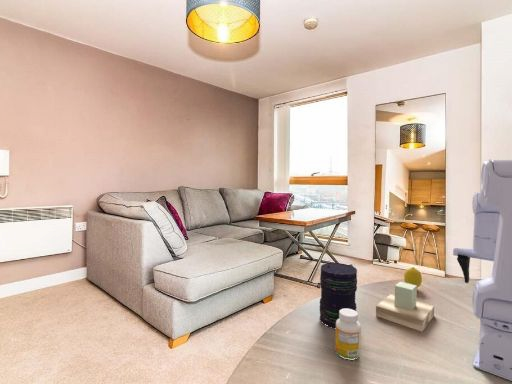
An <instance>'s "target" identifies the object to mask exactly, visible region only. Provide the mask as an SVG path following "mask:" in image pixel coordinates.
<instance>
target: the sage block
mask: <svg viewBox="0 0 512 384" xmlns="http://www.w3.org/2000/svg"><path fill="white" fill-rule="evenodd" d="M417 288H418V287H417V285H413V284H408V283H405V281H404V282H403V281H399V282H398V283H396V284H395V285H394V295H395V301H394V306H397V307H400V308H403V309H406V310H410V311H412V310H413V309H414V308H415V307H416V301H417V296H418V295H417V294H418V291H417V290H418V289H417Z"/></svg>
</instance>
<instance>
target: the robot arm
mask: <svg viewBox="0 0 512 384" xmlns="http://www.w3.org/2000/svg"><path fill="white" fill-rule="evenodd" d="M481 166H482V167H481V172H480V182H481V183H480V185H481V187H482V188H481V190H480V191H479V192H474V194H473V197H472V201H471V202H472V203H471V205H472V213H473V214H474V219H473V237H472V243H473V244H472V248H471V249H470V248H459V247H454V248H453V249H452V250H453V253H452V254H453V256H456V260H457V262H458V264H459V266H460V269H461V271H462V274H463V278H464V283H465V284H469V282H470V263H471V259H477V260H484V261H490V262H493V266H492V272H491V275H490V276H488V277H486V278H482V279H480V280H477V281H476V283H475V287H474V290H473V291H472V292H473V293H472V301H471V302H472V304H471V305H472V312H473V314H474V316H475V317H476V318H477V319H479V320H480V321H479V323H480V324H479V339H478V347H477V351H476V352H475V353H476V354H475V357H474V359H473V363H472V367H474V368H476V369H478V370H481V371H484V372H487V373H489V374H492V375H495V376H497V377H500V378H502V379H505V380H508V381H510V382H512V159H497V160H496V159H494V160H493V159H486V160H485V161H484V162H483V163H482V165H481Z"/></svg>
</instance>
